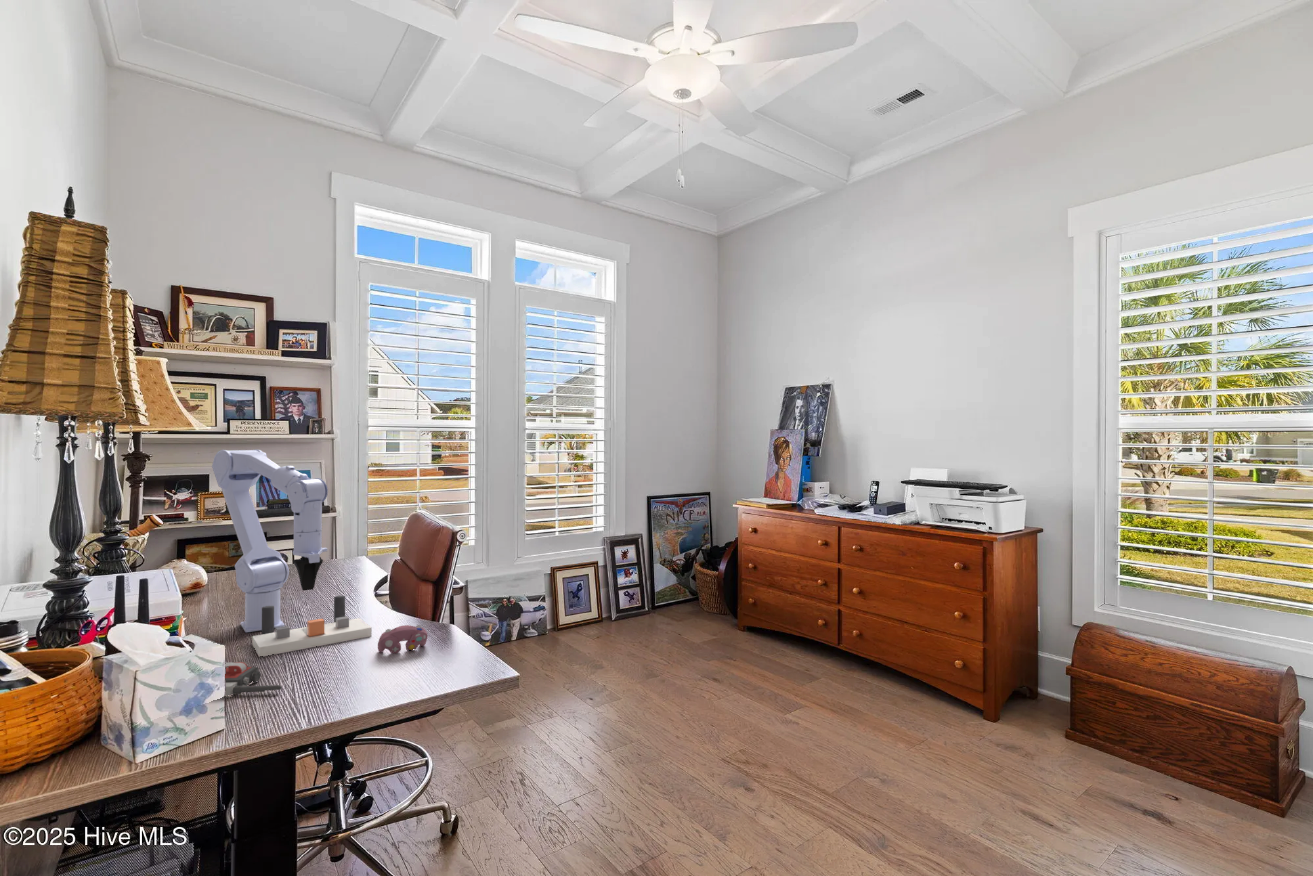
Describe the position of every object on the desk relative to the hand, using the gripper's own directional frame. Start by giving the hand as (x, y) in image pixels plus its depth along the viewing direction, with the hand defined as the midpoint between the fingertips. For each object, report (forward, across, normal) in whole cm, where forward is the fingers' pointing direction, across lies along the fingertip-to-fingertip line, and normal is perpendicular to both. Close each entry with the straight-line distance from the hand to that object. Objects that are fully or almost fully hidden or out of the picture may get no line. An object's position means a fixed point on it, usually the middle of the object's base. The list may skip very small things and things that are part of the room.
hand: (307, 589), depth 146 cm
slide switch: (+8, -9, 0) cm, 12 cm away
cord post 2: (+10, +3, -8) cm, 13 cm away
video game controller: (+11, -26, -13) cm, 31 cm away
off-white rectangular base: (+10, -6, 0) cm, 12 cm away
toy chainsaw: (+11, -27, +17) cm, 34 cm away
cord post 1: (+10, +3, +8) cm, 13 cm away
